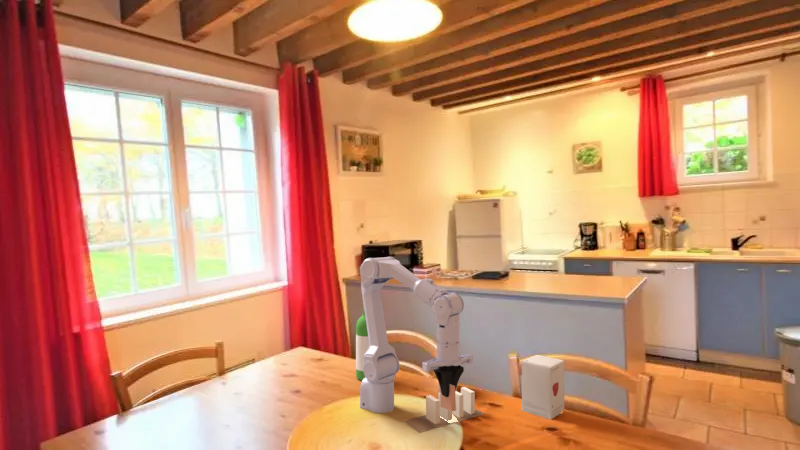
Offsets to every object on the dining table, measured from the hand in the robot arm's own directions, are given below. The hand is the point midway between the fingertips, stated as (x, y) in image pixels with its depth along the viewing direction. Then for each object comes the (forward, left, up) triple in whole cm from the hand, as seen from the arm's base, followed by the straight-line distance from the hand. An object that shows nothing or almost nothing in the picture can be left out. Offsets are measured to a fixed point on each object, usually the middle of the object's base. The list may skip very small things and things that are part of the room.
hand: (448, 395), depth 111 cm
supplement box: (+18, +26, -10) cm, 33 cm away
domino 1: (-6, +4, -9) cm, 12 cm away
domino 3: (-4, +8, -9) cm, 13 cm away
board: (-4, +8, -10) cm, 13 cm away
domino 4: (-2, +11, -9) cm, 15 cm away
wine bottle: (-42, +26, -10) cm, 50 cm away
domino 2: (0, 0, -3) cm, 3 cm away
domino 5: (0, +14, -9) cm, 17 cm away
